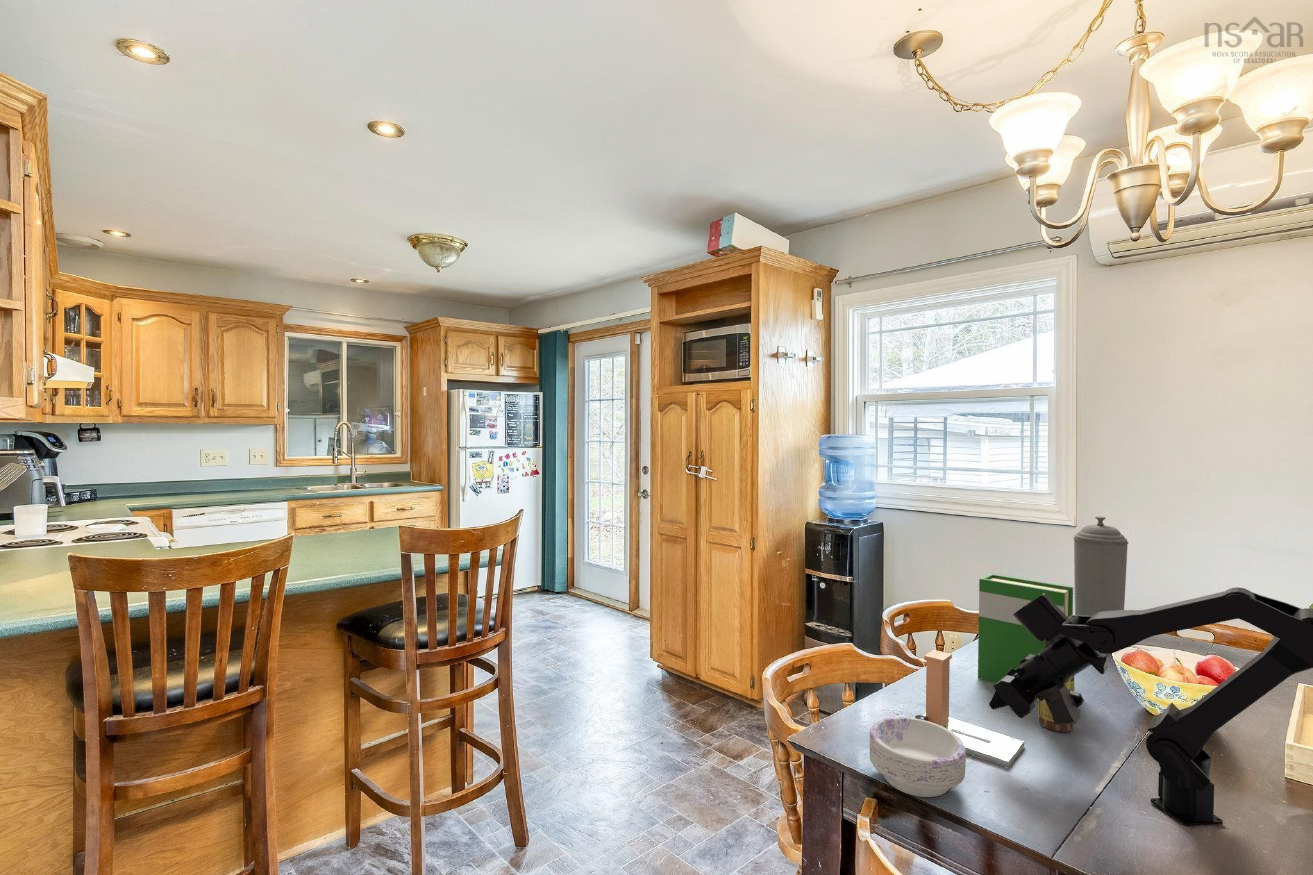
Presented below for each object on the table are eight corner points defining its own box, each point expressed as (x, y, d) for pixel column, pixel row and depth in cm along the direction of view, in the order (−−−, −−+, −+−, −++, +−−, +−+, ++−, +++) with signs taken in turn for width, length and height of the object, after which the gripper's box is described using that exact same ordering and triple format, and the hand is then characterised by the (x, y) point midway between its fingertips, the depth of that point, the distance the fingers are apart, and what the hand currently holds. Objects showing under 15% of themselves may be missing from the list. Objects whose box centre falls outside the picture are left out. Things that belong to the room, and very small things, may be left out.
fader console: (1024, 747, 121) (1024, 730, 121) (1008, 767, 114) (1008, 750, 114) (927, 716, 134) (927, 701, 133) (907, 733, 126) (908, 717, 126)
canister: (1135, 650, 173) (1138, 520, 172) (1082, 646, 176) (1084, 519, 175) (1113, 634, 185) (1116, 514, 184) (1064, 631, 188) (1066, 512, 187)
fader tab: (950, 722, 128) (951, 654, 127) (942, 730, 124) (943, 660, 124) (932, 716, 130) (933, 649, 130) (923, 724, 127) (924, 655, 127)
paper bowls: (960, 820, 99) (960, 769, 99) (859, 790, 107) (860, 743, 107) (969, 773, 112) (970, 729, 112) (879, 750, 120) (880, 708, 120)
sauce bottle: (1079, 735, 126) (1081, 634, 125) (1044, 732, 127) (1046, 632, 127) (1065, 720, 132) (1067, 624, 132) (1032, 717, 133) (1034, 622, 133)
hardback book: (1071, 691, 146) (1073, 586, 146) (1062, 701, 141) (1064, 593, 141) (988, 669, 159) (990, 573, 158) (977, 677, 154) (979, 578, 153)
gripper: (1085, 722, 102) (1009, 767, 110) (1107, 687, 115) (1038, 729, 123) (1029, 661, 107) (961, 707, 115) (1057, 634, 121) (994, 677, 129)
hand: (991, 706), depth 120 cm, fingers closed
